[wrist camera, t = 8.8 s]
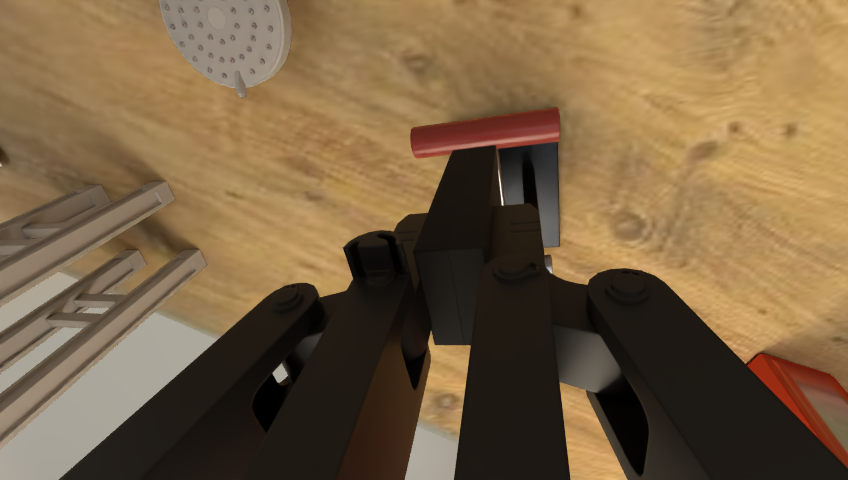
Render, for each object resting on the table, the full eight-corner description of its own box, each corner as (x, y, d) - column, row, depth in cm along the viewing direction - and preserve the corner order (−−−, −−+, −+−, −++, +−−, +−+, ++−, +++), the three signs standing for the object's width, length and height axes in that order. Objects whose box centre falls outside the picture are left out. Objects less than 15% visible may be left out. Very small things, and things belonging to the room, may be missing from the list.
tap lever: (413, 115, 19) (406, 147, 18) (556, 93, 17) (562, 128, 16) (460, 266, 29) (458, 295, 28) (554, 262, 27) (557, 292, 26)
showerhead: (188, 105, 31) (120, -52, 26) (241, 87, 37) (194, -43, 32) (297, 91, 29) (245, -84, 24) (334, 73, 35) (299, -69, 30)
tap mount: (449, 130, 35) (416, 204, 23) (555, 116, 33) (581, 189, 21) (467, 245, 41) (448, 352, 29) (558, 239, 39) (580, 353, 27)
